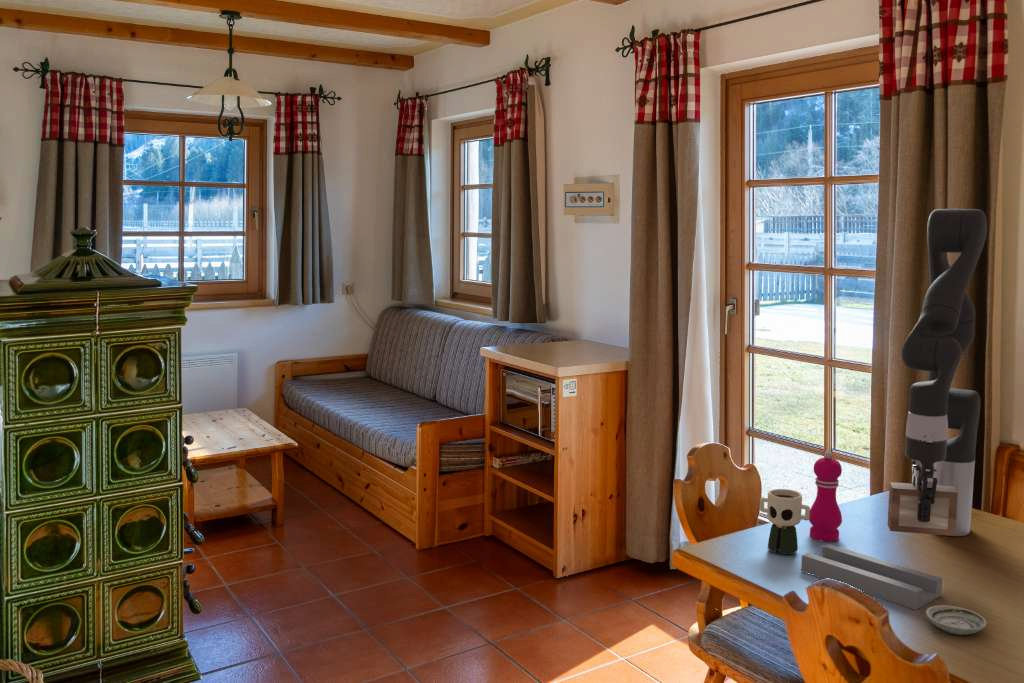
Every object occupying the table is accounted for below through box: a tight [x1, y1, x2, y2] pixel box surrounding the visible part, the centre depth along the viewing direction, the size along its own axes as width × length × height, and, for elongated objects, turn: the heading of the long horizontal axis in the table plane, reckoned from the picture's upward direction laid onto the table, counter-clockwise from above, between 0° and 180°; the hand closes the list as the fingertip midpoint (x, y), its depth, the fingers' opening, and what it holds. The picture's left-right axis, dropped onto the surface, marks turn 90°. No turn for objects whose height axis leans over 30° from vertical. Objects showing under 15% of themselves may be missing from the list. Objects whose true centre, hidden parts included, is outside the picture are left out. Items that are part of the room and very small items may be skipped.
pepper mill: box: [808, 450, 843, 543], centre depth 205 cm, size 7×7×20 cm
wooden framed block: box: [887, 481, 958, 537], centre depth 183 cm, size 4×12×9 cm, turn 75°
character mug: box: [759, 488, 811, 555], centre depth 197 cm, size 11×7×13 cm, turn 55°
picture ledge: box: [800, 543, 943, 611], centre depth 180 cm, size 10×24×4 cm, turn 40°
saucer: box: [925, 604, 987, 636], centre depth 161 cm, size 10×10×2 cm
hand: (921, 516), depth 184 cm, fingers closed on wooden framed block, 4 cm apart
